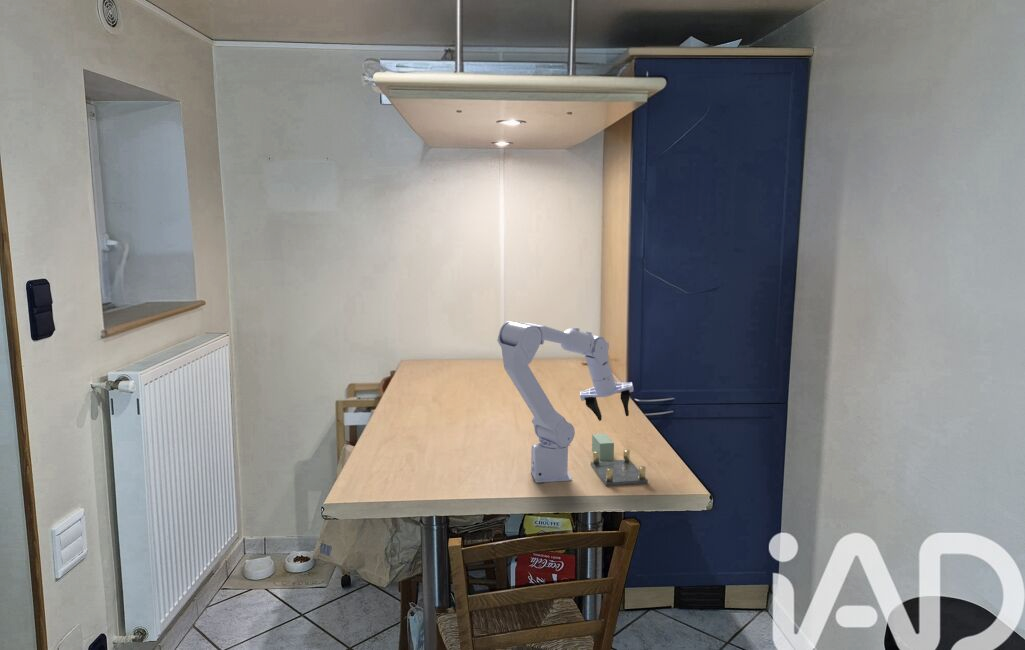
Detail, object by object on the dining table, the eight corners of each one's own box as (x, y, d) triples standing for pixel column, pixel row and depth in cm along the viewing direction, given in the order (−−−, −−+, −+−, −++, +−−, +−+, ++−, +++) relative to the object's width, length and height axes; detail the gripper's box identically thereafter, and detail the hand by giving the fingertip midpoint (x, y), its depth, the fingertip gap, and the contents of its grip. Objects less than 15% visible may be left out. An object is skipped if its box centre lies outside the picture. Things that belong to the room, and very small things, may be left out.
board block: (599, 460, 194) (600, 443, 193) (591, 450, 201) (592, 434, 201) (613, 460, 194) (614, 442, 193) (605, 450, 202) (605, 433, 201)
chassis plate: (605, 486, 176) (606, 471, 175) (590, 465, 190) (590, 451, 189) (647, 483, 177) (648, 468, 177) (629, 462, 192) (629, 449, 191)
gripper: (628, 362, 190) (639, 404, 195) (576, 372, 194) (589, 412, 199) (627, 375, 184) (639, 418, 189) (574, 385, 188) (587, 426, 193)
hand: (613, 416), depth 194 cm, fingers open, 7 cm apart
